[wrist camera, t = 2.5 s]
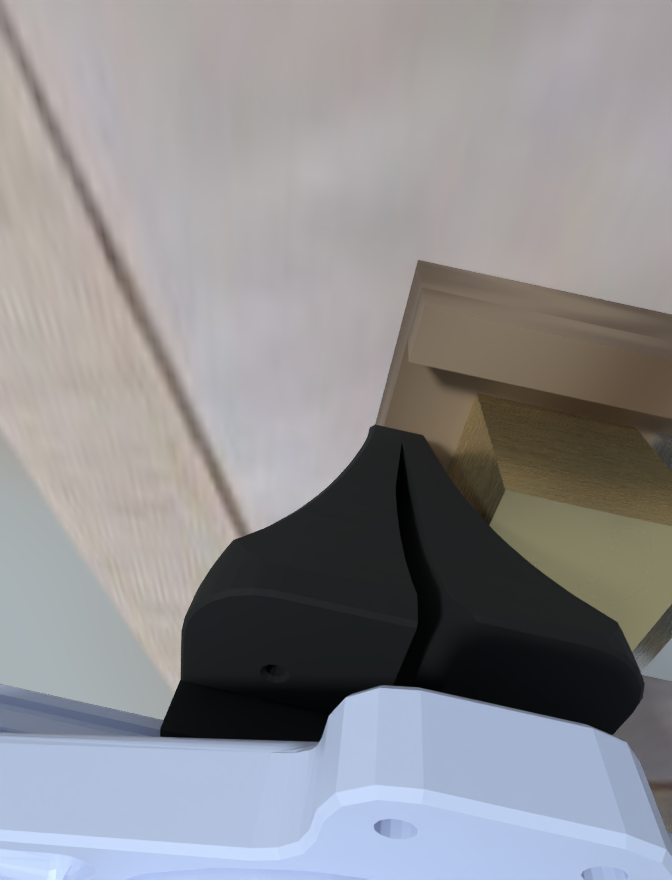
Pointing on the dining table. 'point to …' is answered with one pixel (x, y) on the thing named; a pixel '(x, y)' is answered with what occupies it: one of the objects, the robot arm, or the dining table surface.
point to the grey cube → (668, 642)
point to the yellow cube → (574, 504)
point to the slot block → (522, 356)
